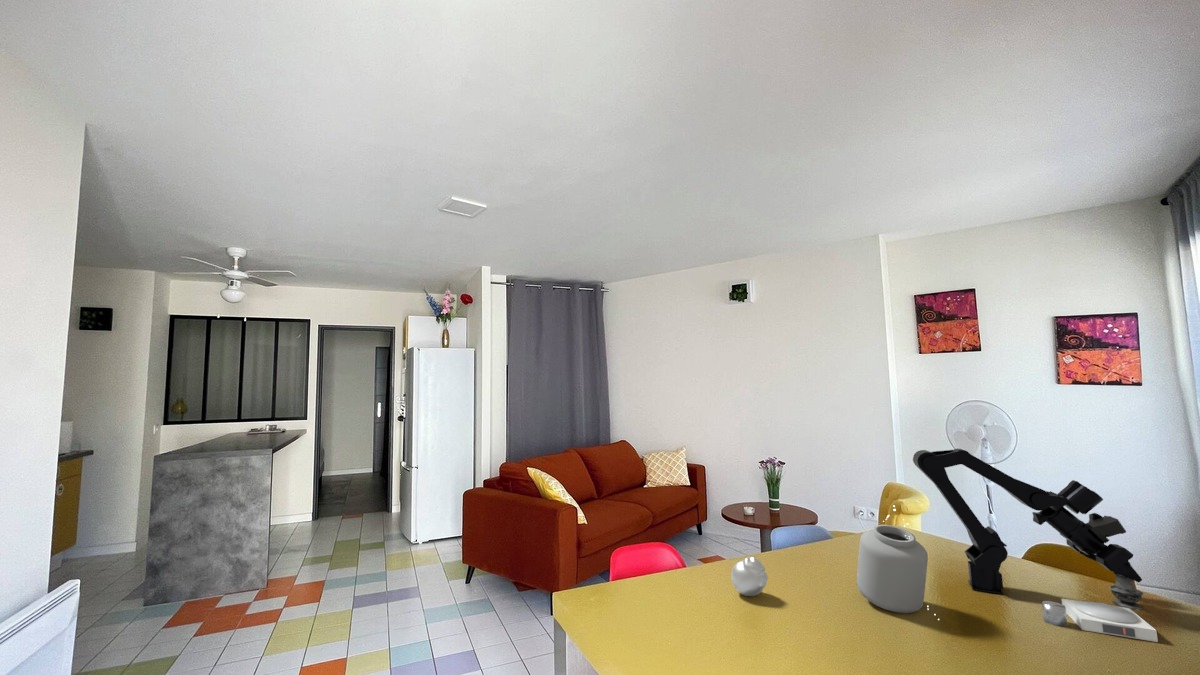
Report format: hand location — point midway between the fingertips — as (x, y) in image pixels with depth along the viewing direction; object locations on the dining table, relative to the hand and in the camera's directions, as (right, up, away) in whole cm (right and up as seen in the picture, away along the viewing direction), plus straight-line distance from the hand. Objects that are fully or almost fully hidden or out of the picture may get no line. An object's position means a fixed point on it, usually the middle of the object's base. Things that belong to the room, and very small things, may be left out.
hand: (1131, 575), depth 122 cm
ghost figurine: (-93, -9, +8) cm, 94 cm away
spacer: (-27, -6, -9) cm, 30 cm away
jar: (-59, -8, 0) cm, 59 cm away
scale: (-17, -6, -10) cm, 20 cm away
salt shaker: (-1, -7, 0) cm, 7 cm away
